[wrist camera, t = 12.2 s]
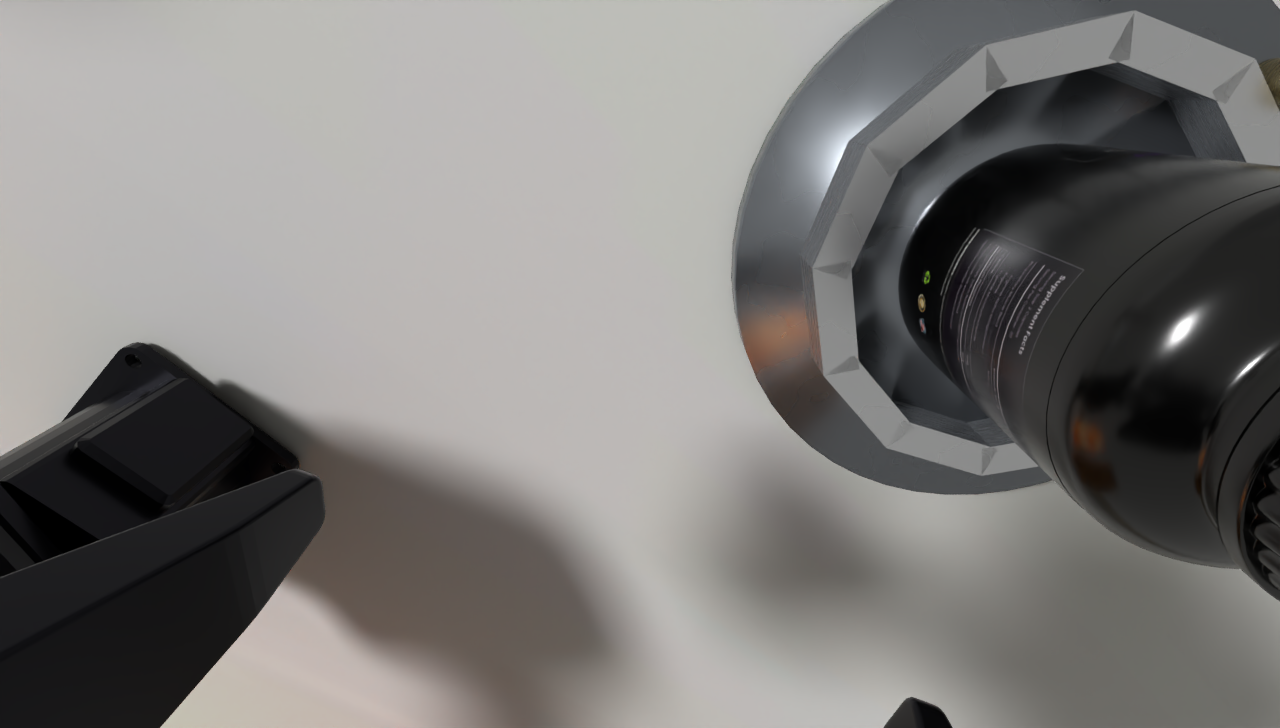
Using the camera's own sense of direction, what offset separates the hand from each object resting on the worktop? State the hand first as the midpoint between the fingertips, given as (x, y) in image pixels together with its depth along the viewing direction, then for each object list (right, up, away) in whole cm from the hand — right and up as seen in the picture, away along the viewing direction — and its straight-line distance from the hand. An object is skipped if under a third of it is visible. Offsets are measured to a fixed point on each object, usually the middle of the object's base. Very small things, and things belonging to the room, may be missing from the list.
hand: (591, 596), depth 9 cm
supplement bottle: (+11, +6, +9) cm, 16 cm away
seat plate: (+11, +7, +10) cm, 16 cm away
